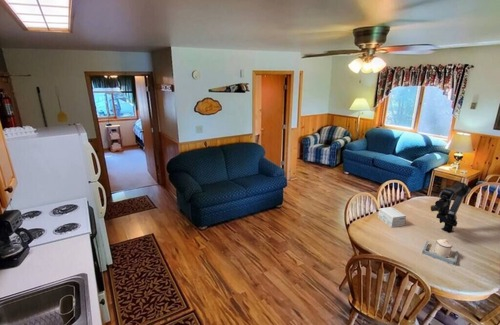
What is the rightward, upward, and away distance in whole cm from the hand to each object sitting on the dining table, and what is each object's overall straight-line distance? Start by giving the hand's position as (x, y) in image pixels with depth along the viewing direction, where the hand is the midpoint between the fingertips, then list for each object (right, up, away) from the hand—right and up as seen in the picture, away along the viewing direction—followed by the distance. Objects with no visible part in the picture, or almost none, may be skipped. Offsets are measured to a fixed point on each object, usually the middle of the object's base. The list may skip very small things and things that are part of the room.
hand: (440, 222), depth 207 cm
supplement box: (-25, -5, +25) cm, 36 cm away
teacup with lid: (-11, -18, -15) cm, 26 cm away
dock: (-13, -18, -17) cm, 28 cm away
